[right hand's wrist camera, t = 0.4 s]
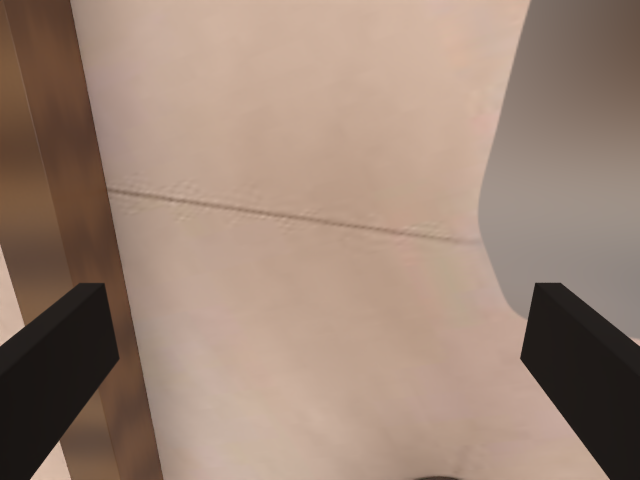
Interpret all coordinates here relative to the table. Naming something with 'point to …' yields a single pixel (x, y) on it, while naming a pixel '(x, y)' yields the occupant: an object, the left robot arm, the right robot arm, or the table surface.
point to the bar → (66, 226)
